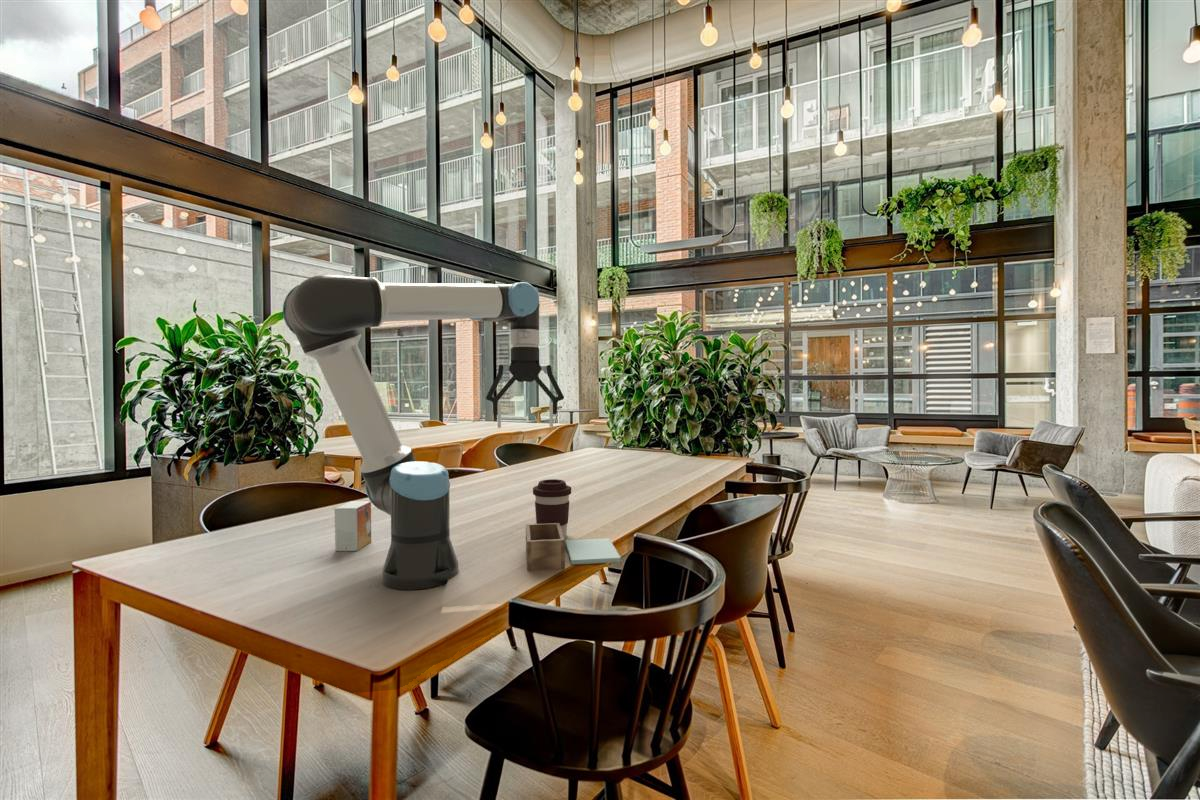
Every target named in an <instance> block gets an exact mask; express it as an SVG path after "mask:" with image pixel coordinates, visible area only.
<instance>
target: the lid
mask: <svg viewBox="0 0 1200 800" xmlns="http://www.w3.org/2000/svg"><path fill="white" fill-rule="evenodd" d="M565 549H566V551H567V554H568V557H569V561H570V564H571V565H589V564H591V565H592V564H606V563H608V564H609V563H621V562H622V561H621V560H622V558H621V555H620V554H619V552H618V550H617V549H616V546H614V544H613V542H612V541H611V539H610V538H609V537H607V538H604V537H603V538H587V539H585V538H582V539H566V540H565Z"/></svg>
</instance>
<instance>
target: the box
mask: <svg viewBox="0 0 1200 800" xmlns="http://www.w3.org/2000/svg"><path fill="white" fill-rule="evenodd" d="M539 539H549V540H539ZM565 549H566V545H565V538H564V536H563V533H562V529H561V526H560V523H546V524H537V523H526V524H525V555H526V559H525V560H526V569H527V570H526V571H529V572H530V571H549V570H550V571H551V570H564V569H566V564H565V563H566V555H565V554H566V550H565Z"/></svg>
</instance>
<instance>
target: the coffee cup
mask: <svg viewBox="0 0 1200 800" xmlns="http://www.w3.org/2000/svg"><path fill="white" fill-rule="evenodd" d="M571 494H572V487H571V486H570V485H567V483H566V480H562V479H554V478H553V479H552V478H551V479H550V478H549V479H543V480H540V481H538V484H537V485H536V486H534V487H533V488H532V495H533V496H534V498H535V502H534V507H535V509H534V511H535V522H536V523H535V524H546V523H560V526H561V529H562V533H563V536H564V539H565V538H566V537H567V531H568V529H567V528H568V523H569V510H570V500H569V499H570V495H571Z"/></svg>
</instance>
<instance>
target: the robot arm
mask: <svg viewBox="0 0 1200 800" xmlns="http://www.w3.org/2000/svg"><path fill="white" fill-rule="evenodd" d="M540 307H541V306H540V294H539V290H538V289H537V288H536V287H534V286H533V285H532V284H531V283H529V282H526V281H525V282H524V281H520V282H518V281H517V282H514V283H511V284H510V283H508V284H506V283H503V284H502V283H501V284H500V283H497V284H496V283H495V284H494V283H430V282H429V283H426V282H425V283H424V282H423V283H420V282H419V283H413V282H411V283H409V282H408V283H407V282H406V283H405V282H403V283H402V282H398V283H397V282H380V280H378V279H377V278H376V277H364V276H348V275H347V276H346V275H334V274H320V275H314V276H311V277H308V278H307V279H305V280H303V281H302V282H301V283H300V284H298V285H296V286H295V287H293V288H292V289H291V290H289V292H288V293H287V295H286V296H285V299H284V301H283V304H282V315H283V316H282V317H283V319H284V322H285V325H286V326H287V328H288V329H289V330H290V331H291V332H292V333H293V334H294V335H295V336H296V338H297V341H298V343H299V345H300V347H301V348H302V351H303V353H304V355H306V356H308V357H311V358H313V359H314V360H315V361H316V362H317V364H318V366H319V369H320V371H321V373H322V374H323V377H324V380H325V381H326V384H327V386H328V387H329V390H330V392H331V394H332V396H333V398H334V401H335V402H336V406H337V407H338V409H339V411H340V413H341V415H342V418H343V419H344V422H345V424H346V427H347V428H348V430H349V431H348V432H349V433H350V435H351V437H352V439H353V441H354V443H355V446H356V447H357V450H358V452H359V455H360V456H361V458H362V463H361V465H360V467H359V472H360V473H361V475H362V478H363V480H364V482H365V492H366V495H367V498H368V499H369V501H370V502H371V505H373V506H374V507H375V508H376V509H378V510H380V511H382V512H384V513H386V514H387V515H388V516H390V534H391V535H390V536H391V537H390V546H389V549H388V551H387V552H388V553H387V555H386V558H385V561H384V564H383V567H382V573H381V574H382V584H384V585H385V586H387V587H388V588H392V589H396V590H405V591H407V590H410V591H411V590H422V589H423V590H424V589H429V588H433V587H439V586H441V585H444V584H447V583H448V581H449V580H450V579H453V578H454V577H455V576H456V575H457V574H458V572H459V561H458V558H457V555H456V551H455V549H454V546H453V543H452V541H451V540H452V539H451V536H450V535H451V534H450V524H451V523H450V519H451V518H450V512H451V511H450V490H451V489H450V487H451V482H450V477H449V475H450V474H449V471H448V469H447V468H446V467H445V466H444V465H442V464H440V463H437V462H430V461H418V460H416V457H415V454H414V453H413V450H412V448H411V447H409V446H406V445H404V444H402V442H401V440H400V439H399V436H398V434H397V431H396V429H395V427H394V423H393V422H392V421H391V418H390V415H389V413H388V411H387V409H386V406H385V405H384V402H383V400H382V398H381V396H380V393H379V391H378V388H377V386H376V384H375V382H374V379H373V378H372V375H371V372H370V370H369V368H368V365H367V363H366V361H365V359H364V356H363V354H362V352H361V350H360V348H359V342H360V339H361V337H362V334H361V332H360V329H364V328H376V327H377V328H378V327H381V326H382V325H383V323H385V322H405V321H406V322H407V321H408V322H409V321H430V320H431V321H432V320H433V321H434V320H437V321H438V320H461V319H469V320H472V321H478V322H481V323H482V322H492V323H493V322H494V323H505V324H507V323H508V324H509V325H510V326H509V327H510V345H511V346H512V347H511V348H510V365H502V364H499V365H498V370H497V375H496V377H495V378H494V381H493V382H492V385H491V386H490V389H489V391H488V392H487V395H486V396H485V399H486V401H490V402H492V413H493V416H496V415H497V429H501V428H502V402H499V400H500V399H501V398H502V397H503V396H504V395H505V394H506V392H507V391H508V390H509V389H510V387H511V386H512V385H513V384H514V383H515V382H516V381H517V382H518V383H524V382H527V383H532V382H534V381H535V382H536V383H537V385H538V386H539V387H540V388H541V390H543V392H544V393H545V395H546V396H548V397H549V398H550V400H551V401H550V402H549V427H550V428H553V427H554V415H558V402H559V401H562V400H564V399H565V397H564V394H563V393H562V390H561V388H560V386H559V385H558V382H557V380H556V378H555V377H554V374H553V371H552V370H553V369H552V366H551V364H548V365H543V366H541V364H540V348H539V347H538V346H539V345H540ZM508 371H509V373H511V375H512V376H511V377H510V379H509V380H508V381H507V382H506V384H505V385H504V386H503V387H502V388H501V390H499V392H498V393H496V395H495V396H494V393H495V391H496V389H497V387H498V385H499V383H500V382H501V379H502V377H503V374H506V373H507V372H508ZM542 371H543V373H544V374H545V375H547V378H548V379H549V381H550V383H551V385H552V387H553V389H554V390H555V393H556V396H555V395H554V394H553V393H552V392H551V390H550V389H549V388H548V387H547V385H546V384H545V383H544V381H543V380H541V379H540V377H539V374H540V373H541V372H542Z"/></svg>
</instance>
